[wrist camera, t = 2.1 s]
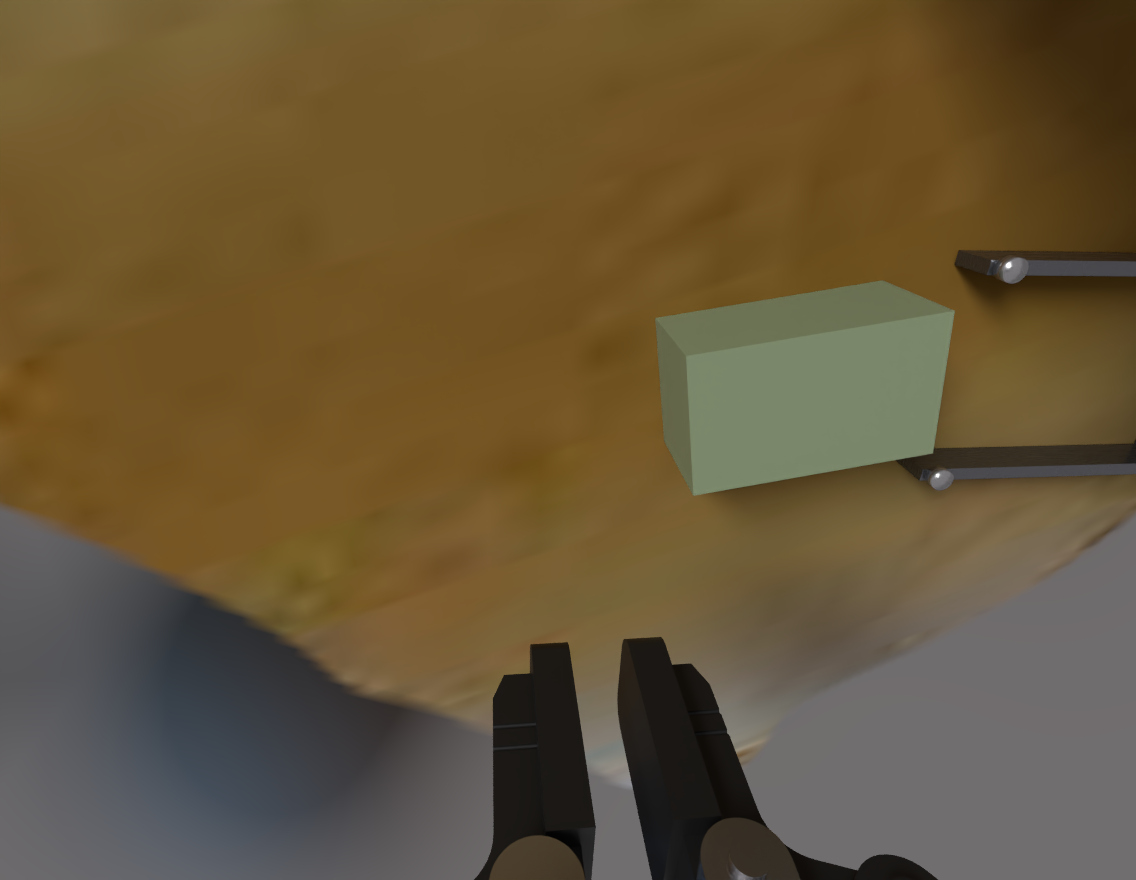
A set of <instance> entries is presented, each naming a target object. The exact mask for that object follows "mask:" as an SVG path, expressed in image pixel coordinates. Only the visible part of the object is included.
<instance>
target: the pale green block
mask: <svg viewBox="0 0 1136 880" xmlns="http://www.w3.org/2000/svg"><path fill="white" fill-rule="evenodd" d="M954 312H955V311H954V310H951V309H949V308H947V307H944V306H942V305H940V304H937V303H935V302H932V301H930V300H928V299H925V298H923V297H921V296H918V295H916V294H914V293H911V292H909V291H906V290H904V289H902V288H899V287H897V286H895V285H892V284H890V283H888V282H885V281H877V282H871V283H865V284H859V285H853V286H847V287H841V288H835V289H829V290H823V291H817V292H810V293H804V294H798V295H792V296H786V297H780V298H774V299H768V300H762V301H756V302H750V303H744V304H738V305H732V306H726V307H720V308H714V309H708V310H702V311H696V312H690V313H684V314H678V315H672V316H666V317H660V318H655V320H656V334H657V348H658V361H659V375H660V389H661V402H662V416H663V430H664V442H665V444H666V445H667V447H668V449H669V451H670V453H671V455H672V457H673V459H674V460H675V462H676V464H677V466H678V468H679V470H680V472H681V474H682V475H683V477H684V479H685V481H686V483H687V485H688V487H689V489H690V490H691V492H692V494H693V496H694V495H700V494H705V493H711V492H717V491H722V490H728V489H734V488H740V487H745V486H751V485H757V484H762V483H768V482H774V481H779V480H785V479H791V478H796V477H802V476H808V475H813V474H819V473H825V472H830V471H836V470H842V469H847V468H853V467H859V466H864V465H870V464H876V463H881V462H887V461H893V460H898V459H904V458H910V457H915V456H921V455H927V454H932V453H933V450H934V443H935V437H936V430H937V424H938V417H939V410H940V404H941V397H942V391H943V384H944V378H945V371H946V365H947V358H948V352H949V345H950V338H951V332H952V325H953V319H954Z"/></svg>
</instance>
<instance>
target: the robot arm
mask: <svg viewBox="0 0 1136 880" xmlns="http://www.w3.org/2000/svg"><path fill="white" fill-rule="evenodd" d="M618 716H619V724H620V729H621V734H622V739H623V744H624V748H625V753H626V758H627V763H628V767H629V772H630V777H631V782H632V786H633V791H634V796H635V800H636V805H637V809H638V815H639V819H640V824H641V829H642V834H643V838H644V843H645V848H646V853H647V857H648V862H649V867H650V871H651V876H652V880H938V879H936V878H935V877H934V876H933V875H932V874H930V873H929V872H928V871H926V870H925V869H924V868H922V867H921V866H919V865H917V864H916V863H914V862H912V861H910V860H907V859H905V858H902V857H899V856H895V855H877V856H873V857H871V858H869V859H867V860H866V861H865V862H864V863H863V864H862V865H861V866H860V868H859V870H858V871H857V870H853V869H849V868H845V867H841V866H838V865H834V864H830V863H826V862H821V861H818V860H814V859H811V858H808V857H805V856H803V855H801V854H799V853H797V852H795V851H793V850H792V849H790V848H789V847H787V846H786V845H785V844H784V843H783V842H782V841H781V840H780V839H779V838H778V837H777V836H776V835H775V834H774V833H773V832H772V831H771V830H769V828H768V827H767V826H766V824H765V823H764V821H763V820H762V818H761V816H760V813H759V811H758V809H757V806H756V804H755V801H754V799H753V796H752V793H751V791H750V788H749V786H748V783H747V780H746V778H745V775H744V772H743V770H742V767H741V765H740V762H739V759H738V757H737V754H736V752H735V749H734V746H733V744H732V741H731V739H730V736H729V735H728V734H727V728H726V726H725V723H724V720H723V718H722V715H721V714H720V713H719V707H718V705H717V702H716V700H715V697H714V694H713V692H712V689H711V687H710V684H709V683H708V682H707V681H706V680H705V679H704V678H703V676H702V675H701V674H700V673H699V672H698V671H697V670H696V669H695V668H694V666H693V665H692V664H677V665H672V663H671V660H670V657H669V654H668V651H667V648H666V645H665V642H664V640H663V639H662V638H661V637H654V638H636V639H624V640H623V644H622V652H621V663H620V674H619V684H618ZM493 787H494V788H493V794H494V795H493V802H494V803H493V804H494V805H493V806H494V835H493V844H492V849H491V853H490V855H489V858H488V860H487V862H486V864H485V866H484V868H483V869H482V871H481V872H480V873H479V875H478V876H477V877H476V878H475V879H474V880H591V876H592V863H593V852H594V840H595V828H596V826H595V820H594V813H593V806H592V799H591V793H590V786H589V779H588V772H587V765H586V759H585V752H584V745H583V738H582V731H581V725H580V718H579V711H578V704H577V698H576V691H575V684H574V677H573V670H572V664H571V657H570V650H569V645H568V642H565V643H547V644H531V645H530V674H514V675H504V676H503V678H502V681H501V683H500V685H499V687H498V689H497V691H496V693H495V695H494V697H493Z"/></svg>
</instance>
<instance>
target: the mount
mask: <svg viewBox="0 0 1136 880" xmlns="http://www.w3.org/2000/svg"><path fill="white" fill-rule="evenodd" d="M955 265H957V266H960V267H963V268H966V269H970V270H973V271H976V272H979V273H982V274H985V275H994V277H995V278H996V279H998V280H1000V281H1003V282H1007V283H1010V284H1014V283H1017V282H1019V281H1020V280H1022V279H1023V278H1024V277H1025V275H1036V276H1136V253H1125V252H1048V251H971V250H959V252H958V255H957V258H956V262H955ZM896 461H897V462H898V463H900V464H901V465H902V466H903V467H904V468H905V469H907V470H908V471H909V472H910V473H911V474H912V475H914V476H915V477H916V478H917V479H918V480H919V481H920V480H925V481H926V482H927V483H928V484H930V485H931V486H932V487H933V488H934V489H936V490H944V489H946V488H948V487H949V486H950V485H951V484H952V482H953V480H954V479H987V478H1020V477H1054V476H1087V475H1120V474H1136V441H1135V443H1134V444H1104V445H1062V446H1021V447H979V448H937V449H934V450H933V453H932V454H927V455H921V456H915V457H910V458H904V459H898V460H896Z"/></svg>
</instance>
